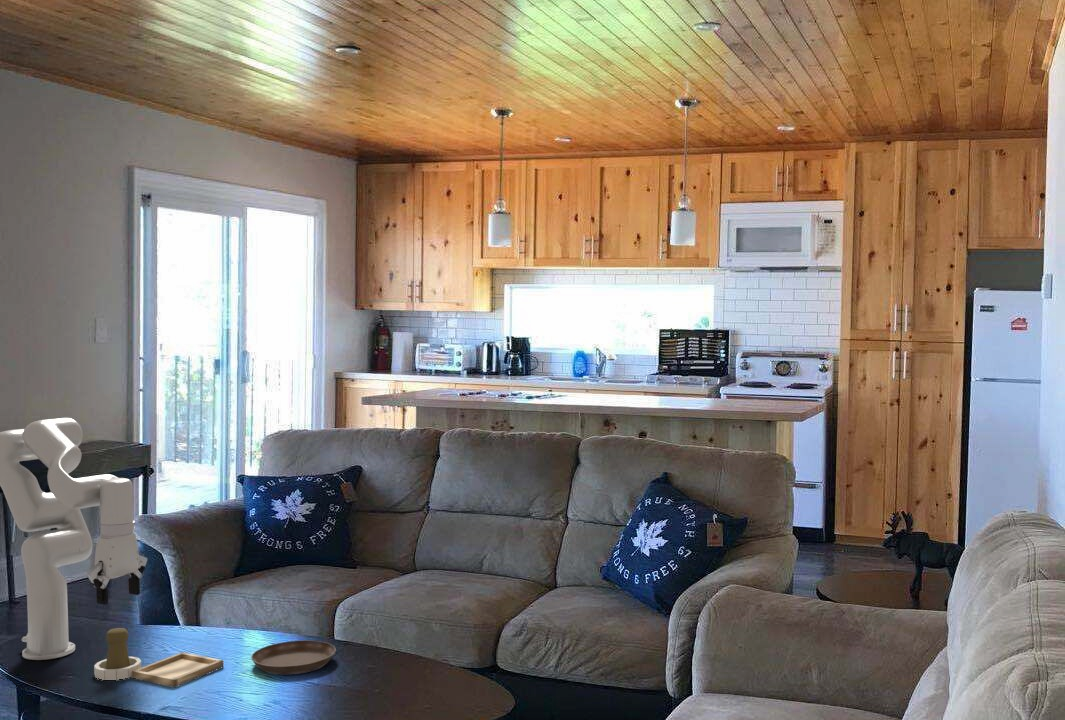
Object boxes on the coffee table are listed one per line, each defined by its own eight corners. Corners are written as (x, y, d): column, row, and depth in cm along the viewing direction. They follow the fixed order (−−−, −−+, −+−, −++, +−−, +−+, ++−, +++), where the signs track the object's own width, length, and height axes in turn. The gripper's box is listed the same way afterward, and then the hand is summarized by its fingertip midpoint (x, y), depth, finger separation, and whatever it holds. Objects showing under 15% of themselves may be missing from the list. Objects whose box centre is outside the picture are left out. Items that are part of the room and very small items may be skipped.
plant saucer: (234, 673, 266) (233, 659, 266) (283, 648, 285) (283, 635, 285) (305, 683, 259) (305, 669, 258) (351, 657, 278) (351, 644, 277)
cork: (122, 678, 262) (121, 633, 262) (99, 676, 264) (98, 632, 263) (136, 670, 268) (135, 626, 268) (114, 668, 269) (112, 624, 269)
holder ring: (85, 676, 264) (85, 666, 264) (120, 663, 273) (120, 654, 273) (115, 683, 259) (115, 673, 259) (150, 670, 268) (150, 660, 268)
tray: (132, 678, 262) (132, 671, 262) (182, 659, 276) (182, 652, 276) (174, 687, 256) (174, 679, 256) (223, 667, 270) (223, 660, 270)
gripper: (134, 521, 273) (135, 588, 274) (76, 534, 258) (78, 605, 259) (155, 524, 270) (157, 592, 271) (98, 537, 254) (100, 609, 255)
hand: (118, 598), depth 265 cm, fingers open, 9 cm apart
